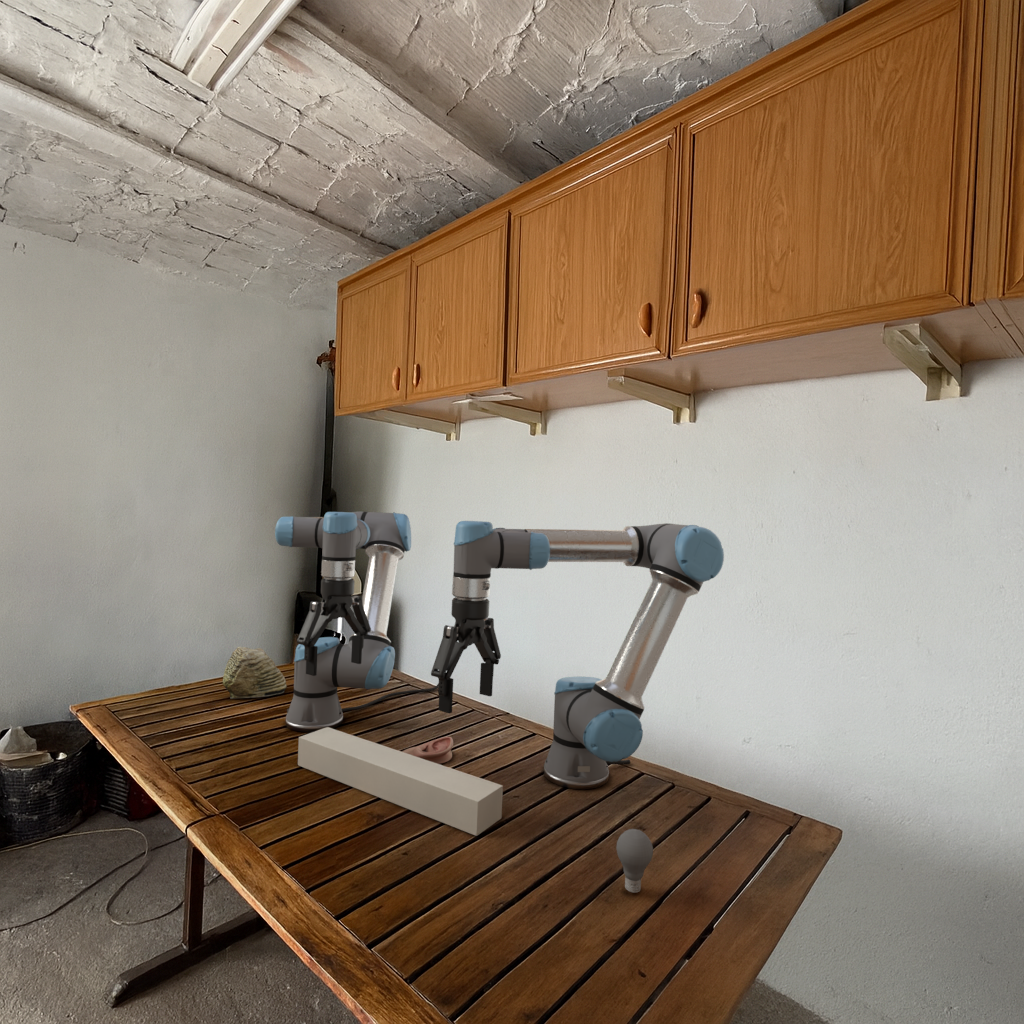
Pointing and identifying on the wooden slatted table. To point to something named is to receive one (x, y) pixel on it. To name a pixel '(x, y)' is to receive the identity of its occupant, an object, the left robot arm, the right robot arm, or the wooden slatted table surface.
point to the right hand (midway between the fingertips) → (466, 703)
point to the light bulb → (634, 857)
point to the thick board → (403, 779)
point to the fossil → (252, 674)
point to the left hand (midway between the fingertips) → (334, 668)
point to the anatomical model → (433, 750)
